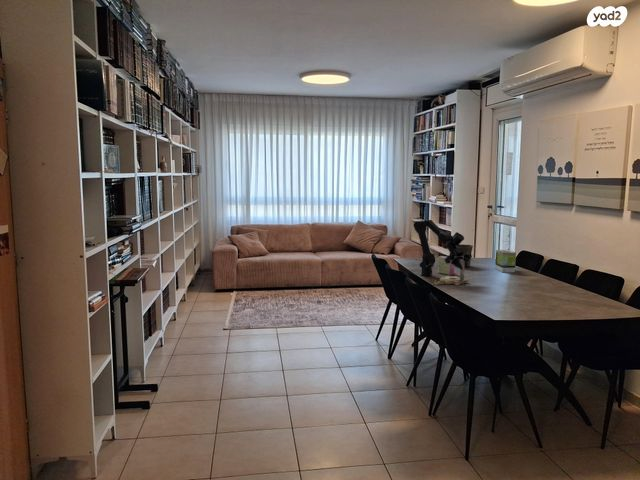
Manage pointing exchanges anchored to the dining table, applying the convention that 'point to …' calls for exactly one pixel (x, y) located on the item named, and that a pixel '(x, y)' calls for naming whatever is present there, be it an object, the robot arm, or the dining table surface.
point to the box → (445, 266)
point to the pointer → (437, 282)
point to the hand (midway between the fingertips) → (464, 268)
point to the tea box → (505, 260)
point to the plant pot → (466, 252)
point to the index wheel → (454, 278)
